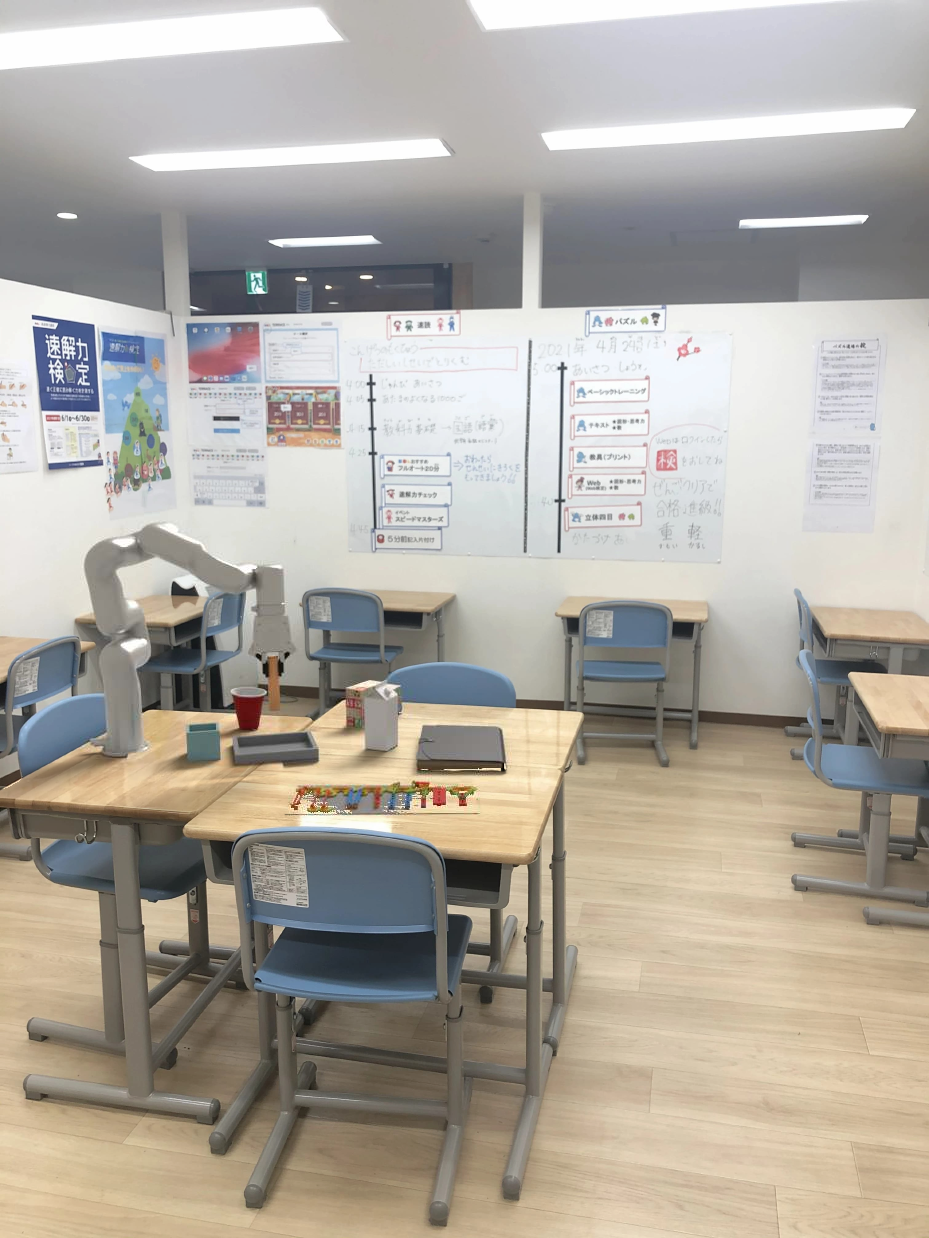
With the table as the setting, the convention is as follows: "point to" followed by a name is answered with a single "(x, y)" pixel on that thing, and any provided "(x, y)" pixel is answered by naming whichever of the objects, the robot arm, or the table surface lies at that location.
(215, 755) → the light blue open box
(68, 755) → the table surface
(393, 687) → the stack of blocks
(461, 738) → the file folder
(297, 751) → the tray
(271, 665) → the dowel pin
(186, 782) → the table surface
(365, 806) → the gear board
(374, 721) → the milk carton
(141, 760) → the table surface
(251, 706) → the plastic cup
